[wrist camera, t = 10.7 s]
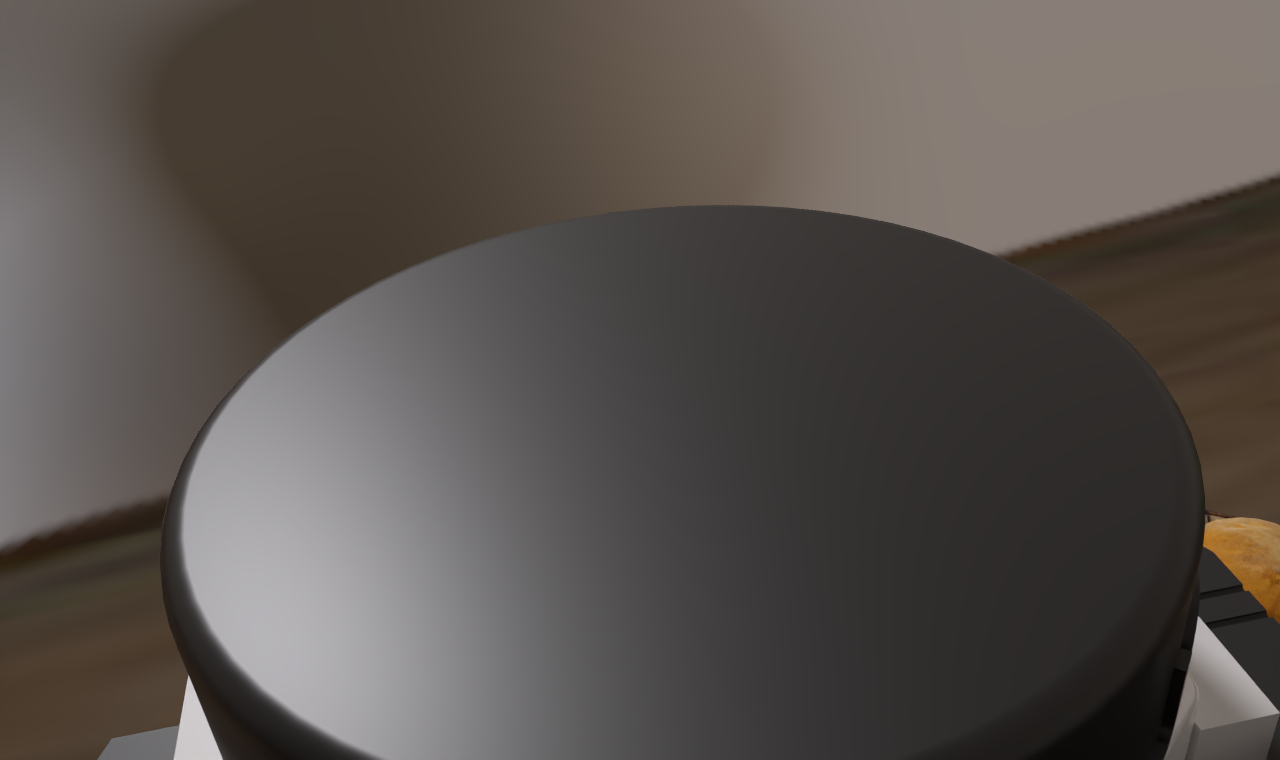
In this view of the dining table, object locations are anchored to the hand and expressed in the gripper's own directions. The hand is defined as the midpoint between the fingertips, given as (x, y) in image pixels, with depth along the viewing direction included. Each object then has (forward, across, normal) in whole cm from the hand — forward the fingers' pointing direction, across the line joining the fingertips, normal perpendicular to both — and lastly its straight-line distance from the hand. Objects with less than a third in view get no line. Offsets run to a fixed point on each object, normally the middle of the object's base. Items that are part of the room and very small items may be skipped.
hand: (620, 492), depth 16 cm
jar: (-5, 0, -8) cm, 9 cm away
